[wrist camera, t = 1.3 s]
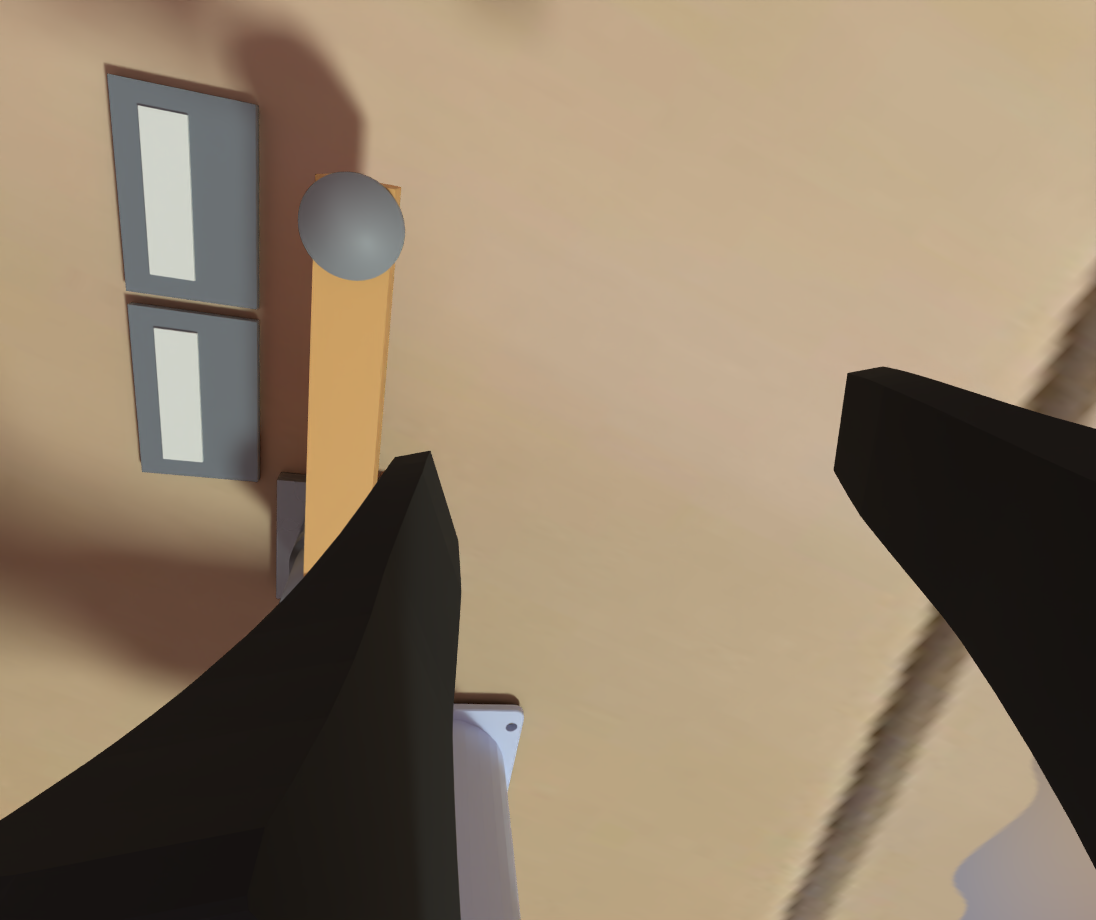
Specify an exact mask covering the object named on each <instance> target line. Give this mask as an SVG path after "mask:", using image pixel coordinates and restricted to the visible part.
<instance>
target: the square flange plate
mask: <svg viewBox="0 0 1096 920" xmlns="http://www.w3.org/2000/svg"><path fill="white" fill-rule="evenodd" d="M377 482H378V481H377ZM305 506H306V475H305V474H294V473H283V472H281V474H280V476H279V477H278V479H277V554H276V599H281V597H282V594H283V591H284V589H285V586H286V583H287V581H288V578H289V575H290V573H291V570H292V567H293V565H294V562H295V559H296V557H297V555H298V553H299V552H300V550H301V549H302V548H303V547H304V539H305Z"/></svg>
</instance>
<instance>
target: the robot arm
mask: <svg viewBox="0 0 1096 920" xmlns="http://www.w3.org/2000/svg"><path fill="white" fill-rule="evenodd" d="M834 472H835V474H836V475H837V477H838V479H839V481H840V483H841V484H842V486H843V488H844V490H845V491H846V493H847V495H848V497H849V498H850V500H851V501H852V503H853V505H854V506H855V508H856V510H857V511H858V513H859V514H860V516H861V517H862V518H863V520H864V521H865V522H866V524H867V525H868V526H869V527H870V529H871V530H872V531H873V532H874V534H875V535H876V536H877V537H878V539H879V540H880V541H881V542H882V544H883V545H884V546H885V547H886V548H887V550H888V551H889V552H890V553H891V555H892V556H893V557H894V558H895V559H896V561H897V562H898V563H899V564H900V565H901V567H902V568H903V569H904V570H905V572H906V573H907V574H908V575H909V576H910V578H911V579H912V580H913V581H914V582H915V584H916V585H917V586H918V587H919V588H920V590H921V591H922V592H923V593H924V595H925V596H926V597H927V598H928V599H929V601H930V602H931V603H932V604H933V605H934V607H935V608H936V609H937V610H938V611H939V613H940V614H941V615H942V616H943V618H944V619H945V620H946V622H947V623H948V624H949V626H950V627H951V628H952V630H953V631H954V632H955V634H956V635H957V636H958V638H959V639H960V640H961V642H962V643H963V645H964V646H965V648H966V649H967V651H968V652H969V654H970V655H971V657H972V658H973V660H974V661H975V663H976V665H977V666H978V668H979V669H980V671H981V672H982V674H983V675H984V677H985V678H986V680H987V681H988V683H989V684H990V686H991V687H992V689H993V690H994V692H995V693H996V695H997V697H998V698H999V700H1000V702H1001V703H1002V705H1003V706H1004V708H1005V710H1006V711H1007V713H1008V715H1009V716H1010V718H1011V719H1012V721H1013V723H1014V724H1015V726H1016V728H1017V729H1018V731H1019V732H1020V734H1021V736H1022V737H1023V739H1024V741H1025V742H1026V744H1027V745H1028V747H1029V749H1030V750H1031V752H1032V754H1033V756H1034V757H1035V759H1036V761H1037V763H1038V764H1039V766H1040V768H1041V770H1042V771H1043V773H1044V775H1045V777H1046V779H1047V780H1048V782H1049V784H1050V786H1051V787H1052V789H1053V791H1054V793H1055V794H1056V796H1057V798H1058V800H1059V801H1060V803H1061V805H1062V807H1063V809H1064V810H1065V812H1066V814H1067V816H1068V817H1069V819H1070V821H1071V823H1072V825H1073V827H1074V828H1075V830H1076V832H1077V834H1078V836H1079V838H1080V840H1081V842H1082V844H1083V846H1084V847H1085V849H1086V852H1087V853H1088V855H1089V857H1090V859H1091V861H1092V863H1093V865H1094V867H1095V869H1096V429H1094V428H1091V427H1087V426H1083V425H1080V424H1076V423H1073V422H1069V421H1065V420H1062V419H1058V418H1054V417H1051V416H1048V415H1044V414H1041V413H1038V412H1034V411H1031V410H1028V409H1024V408H1021V407H1018V406H1015V405H1011V404H1008V403H1005V402H1002V401H999V400H996V399H992V398H989V397H986V396H983V395H980V394H977V393H974V392H971V391H967V390H964V389H961V388H958V387H955V386H952V385H949V384H946V383H942V382H939V381H936V380H933V379H929V378H926V377H923V376H919V375H916V374H912V373H909V372H905V371H901V370H897V369H892V368H888V367H878V368H872V369H867V370H862V371H856V372H851V373H848V374H847V381H846V387H845V394H844V401H843V408H842V415H841V422H840V429H839V436H838V443H837V450H836V457H835V464H834ZM460 605H461V576H460V560H459V545H458V539H457V535H456V532H455V529H454V526H453V522H452V519H451V516H450V513H449V509H448V506H447V503H446V500H445V496H444V493H443V490H442V487H441V483H440V480H439V477H438V474H437V470H436V467H435V464H434V461H433V458H432V454H431V451H426V452H421V453H415V454H410V455H405V456H399V457H395V458H394V459H393V461H392V462H391V463H390V465H389V466H388V468H387V469H386V470H385V472H384V473H383V475H382V476H381V477H380V479H379V480H378V482H377V483H376V484H375V486H374V487H373V489H372V490H371V492H370V493H369V494H368V496H367V497H366V499H365V500H364V501H363V503H362V504H361V506H360V507H359V508H358V510H357V511H356V513H355V514H354V515H353V517H352V518H351V519H350V521H349V522H348V523H347V525H346V526H345V527H344V529H343V530H342V531H341V533H340V534H339V535H338V537H337V538H336V539H335V540H334V541H333V543H332V544H331V545H330V546H329V547H328V549H327V550H326V551H325V552H324V553H323V555H322V556H321V557H320V558H319V560H318V561H317V562H316V563H315V564H314V566H313V567H312V568H311V569H310V570H309V572H308V573H307V574H306V575H305V576H304V578H303V579H302V580H301V581H300V582H299V583H298V584H297V585H296V586H295V588H294V589H293V590H292V591H291V592H290V593H289V594H288V595H287V596H286V597H285V598H284V599H283V600H282V601H281V602H280V603H279V604H278V605H277V606H276V607H275V608H274V609H273V610H272V611H271V612H270V613H269V614H268V615H267V616H266V617H265V618H264V619H263V620H262V621H261V622H260V623H259V624H258V625H257V626H256V627H255V628H254V629H253V630H252V631H251V632H250V633H249V634H248V635H247V636H246V637H245V638H243V639H242V640H241V641H240V642H239V643H238V644H237V645H235V646H234V647H233V648H232V649H231V650H230V651H229V652H227V653H226V654H225V655H224V656H223V657H222V658H221V659H219V660H218V661H217V662H216V663H215V664H214V665H213V666H211V667H210V668H209V669H208V670H207V671H206V672H205V673H203V674H202V675H201V676H200V677H199V678H198V679H197V680H195V681H194V682H193V683H192V684H191V685H189V686H188V687H187V688H186V689H185V690H183V691H182V692H181V693H180V694H178V695H177V696H176V697H174V698H173V699H172V700H171V701H169V702H168V703H167V704H166V705H164V706H163V707H162V708H160V709H159V710H158V711H157V712H155V713H154V714H153V715H152V716H150V717H149V718H148V719H146V720H145V721H143V722H142V723H141V724H139V725H138V726H137V727H135V728H134V729H133V730H131V731H130V732H129V733H127V734H126V735H125V736H123V737H122V738H121V739H119V740H118V741H117V742H115V743H114V744H112V745H111V746H110V747H108V748H107V749H105V750H104V751H103V752H101V753H100V754H98V755H97V756H96V757H94V758H93V759H91V760H90V761H89V762H87V763H86V764H84V765H83V766H81V767H80V768H78V769H77V770H75V771H74V772H72V773H71V774H69V775H68V776H66V777H65V778H63V779H62V780H60V781H59V782H57V783H56V784H54V785H53V786H51V787H50V788H48V789H47V790H45V791H44V792H42V793H41V794H39V795H38V796H36V797H35V798H33V799H32V800H30V801H29V802H27V803H26V804H24V805H23V806H21V807H20V808H18V809H17V810H16V811H14V812H13V813H11V814H9V815H8V816H6V817H5V818H3V819H2V820H0V920H521V917H520V908H519V898H518V889H517V879H516V870H515V860H514V851H513V841H512V832H511V822H510V813H509V803H508V794H507V792H508V787H509V783H510V778H511V774H512V769H513V765H514V760H515V756H516V751H517V747H518V743H519V738H520V734H521V729H522V725H523V720H524V713H523V709H522V708H521V707H520V706H518V705H501V704H454V692H455V678H456V664H457V650H458V635H459V620H460ZM509 723H513V724H510V725H509Z"/></svg>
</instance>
